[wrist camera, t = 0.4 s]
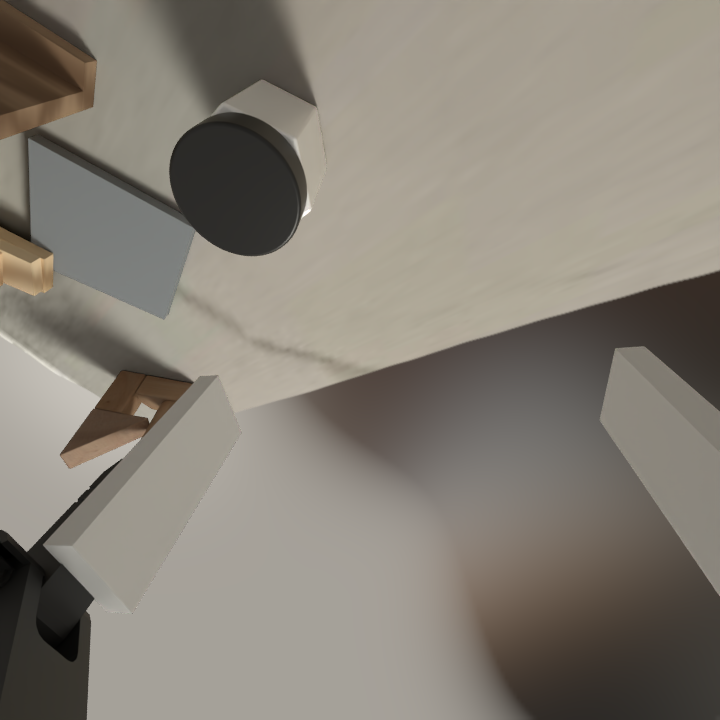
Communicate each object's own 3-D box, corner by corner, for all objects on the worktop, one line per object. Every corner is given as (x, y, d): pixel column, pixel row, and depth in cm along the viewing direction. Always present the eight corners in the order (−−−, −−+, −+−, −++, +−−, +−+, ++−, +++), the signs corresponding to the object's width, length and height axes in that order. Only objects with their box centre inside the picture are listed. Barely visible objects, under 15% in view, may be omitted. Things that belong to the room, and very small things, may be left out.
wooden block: (121, 368, 53) (36, 485, 40) (196, 382, 54) (137, 500, 41) (126, 384, 55) (48, 499, 43) (198, 397, 57) (143, 512, 44)
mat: (37, 134, 31) (28, 137, 30) (198, 222, 36) (193, 227, 35) (39, 255, 40) (31, 260, 39) (168, 313, 45) (164, 319, 44)
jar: (211, 86, 28) (135, 122, 20) (313, 71, 27) (278, 102, 19) (249, 202, 34) (204, 267, 26) (333, 193, 33) (314, 258, 25)
